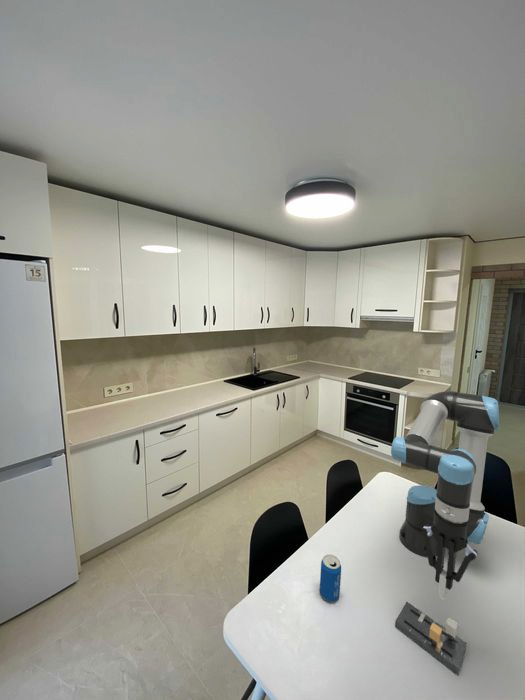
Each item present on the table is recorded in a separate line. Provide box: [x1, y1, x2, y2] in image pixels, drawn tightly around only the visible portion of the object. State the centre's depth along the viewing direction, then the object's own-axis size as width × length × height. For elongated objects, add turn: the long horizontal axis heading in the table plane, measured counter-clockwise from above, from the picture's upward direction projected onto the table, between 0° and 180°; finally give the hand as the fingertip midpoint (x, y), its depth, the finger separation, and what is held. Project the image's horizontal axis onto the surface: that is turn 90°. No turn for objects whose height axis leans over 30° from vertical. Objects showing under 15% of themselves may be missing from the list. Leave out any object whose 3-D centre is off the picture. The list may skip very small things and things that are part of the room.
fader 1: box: [429, 623, 442, 646], centre depth 80 cm, size 2×2×4 cm
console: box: [394, 601, 468, 676], centre depth 83 cm, size 16×9×2 cm, turn 43°
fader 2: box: [444, 616, 459, 640], centre depth 82 cm, size 2×2×4 cm
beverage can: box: [319, 553, 342, 603], centre depth 95 cm, size 6×6×12 cm
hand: (442, 595), depth 79 cm, fingers closed
